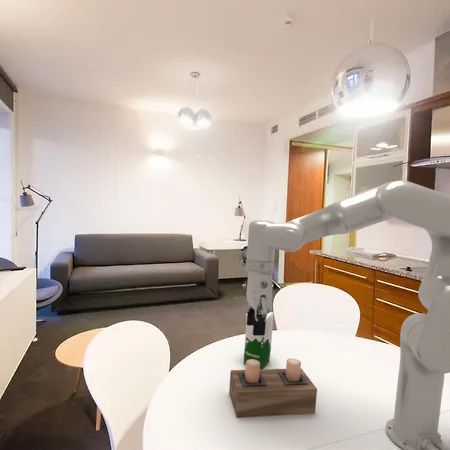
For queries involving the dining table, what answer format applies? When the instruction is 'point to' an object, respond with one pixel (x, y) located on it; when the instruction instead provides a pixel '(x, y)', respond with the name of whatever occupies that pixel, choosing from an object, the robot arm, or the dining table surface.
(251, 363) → the peg
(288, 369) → the peg
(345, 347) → the dining table surface
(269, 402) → the walnut block
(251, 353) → the milk carton
